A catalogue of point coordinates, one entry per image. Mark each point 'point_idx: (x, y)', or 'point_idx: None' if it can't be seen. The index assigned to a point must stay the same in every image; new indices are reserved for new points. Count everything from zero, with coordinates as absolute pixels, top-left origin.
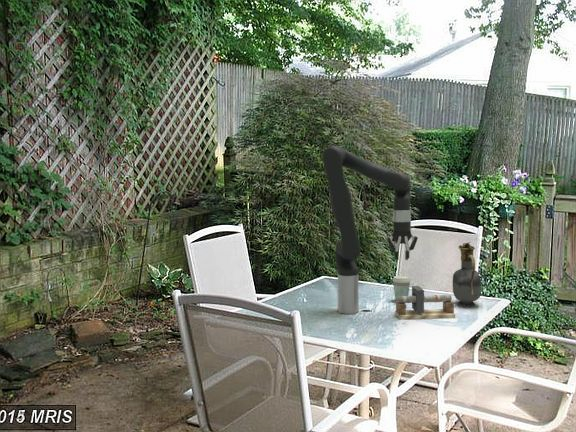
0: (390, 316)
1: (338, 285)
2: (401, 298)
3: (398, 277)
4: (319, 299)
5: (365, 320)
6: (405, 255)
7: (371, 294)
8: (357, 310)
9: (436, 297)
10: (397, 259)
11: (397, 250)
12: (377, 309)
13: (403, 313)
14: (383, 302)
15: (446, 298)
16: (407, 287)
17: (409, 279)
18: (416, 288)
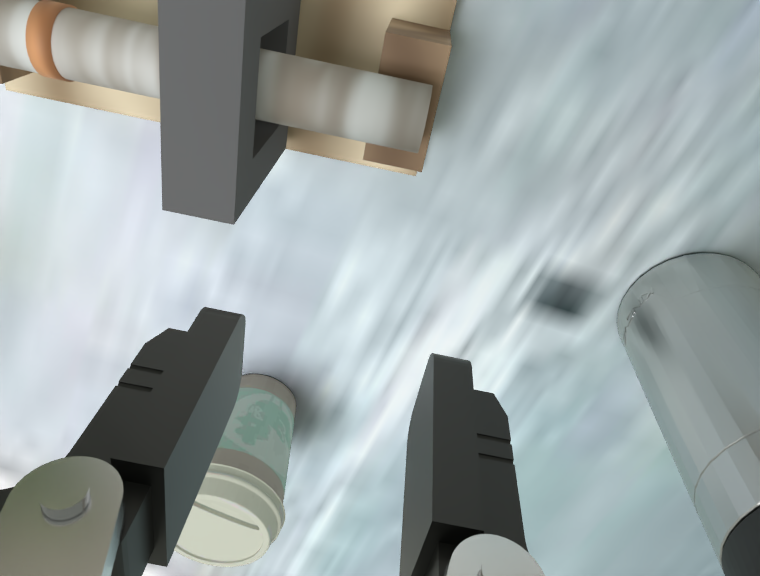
0: (483, 107)
1: None
2: (408, 91)
3: (235, 536)
4: (669, 556)
5: (732, 55)
6: (211, 441)
7: (365, 548)
8: (658, 274)
9: (48, 11)
10: (458, 359)
11: (472, 568)
12: (478, 301)
13: (411, 24)
14: (369, 417)
15: None
16: None
17: None
18: (220, 97)
